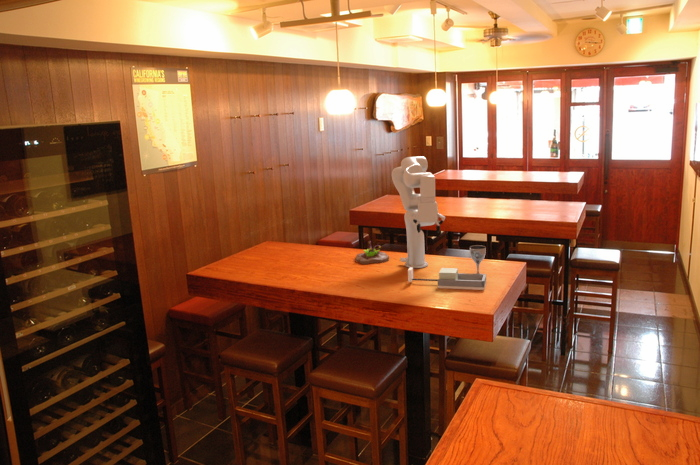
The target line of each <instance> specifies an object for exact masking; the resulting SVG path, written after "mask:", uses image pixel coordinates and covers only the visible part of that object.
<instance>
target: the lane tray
mask: <svg viewBox="0 0 700 465" xmlns="http://www.w3.org/2000/svg"><path fill="white" fill-rule="evenodd" d="M437 280H438V281H437V289H448V290H449V289H452V290H455V289H456V290H474V291H475V290H479V291H485V289H486V284H487V273H481V274H475V273H465V272H464V273H462V272H461V273H460V272H458V280H451V279H439V278H438V279H437Z"/></svg>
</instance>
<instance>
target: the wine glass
mask: <svg viewBox="0 0 700 465" xmlns="http://www.w3.org/2000/svg"><path fill="white" fill-rule="evenodd" d="M486 249H487V247H486V246H485V245H479V244H476V245H470V246H469V253H470V254H469V255H470V258H471V260H472V261H473V262H474V263H475V264H476V273H474V274H482V273H481V272H480V264H481V263H482V261H483V260H484V259H485V256H486V253H487V252H486V251H487V250H486Z"/></svg>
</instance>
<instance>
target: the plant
mask: <svg viewBox="0 0 700 465" xmlns="http://www.w3.org/2000/svg"><path fill="white" fill-rule="evenodd" d="M368 244H369V248H367V249H363V251H364V252H362V253H361V252H360V253H357V254H356V256H355V259H354V260H355V261H357V262H360V263H361V264H360V263H359V264H360V265H370V264H369V263H373V264H383V263H387V262H389V260H390V256H389V255H388V254H387V253H386V252H382V251H381V245H379V244H377V245H374V246H373V247H372V241H371V240H369V241H368ZM376 247H378V248H379V249H377V250H376ZM357 262H356V263H357ZM382 262H383V263H382Z"/></svg>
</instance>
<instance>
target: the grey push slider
mask: <svg viewBox="0 0 700 465" xmlns="http://www.w3.org/2000/svg"><path fill="white" fill-rule="evenodd" d="M458 269H459V268H455V267H452V268H451V267H441V268H440V270H439V272H438V276H439V278H438V279H451V280H458V273H459V270H458ZM438 279H432V278H414V268H413V267H410V268H409V267H408V269H407V282H408V283H412V282H413V281H424V282H438Z"/></svg>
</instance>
